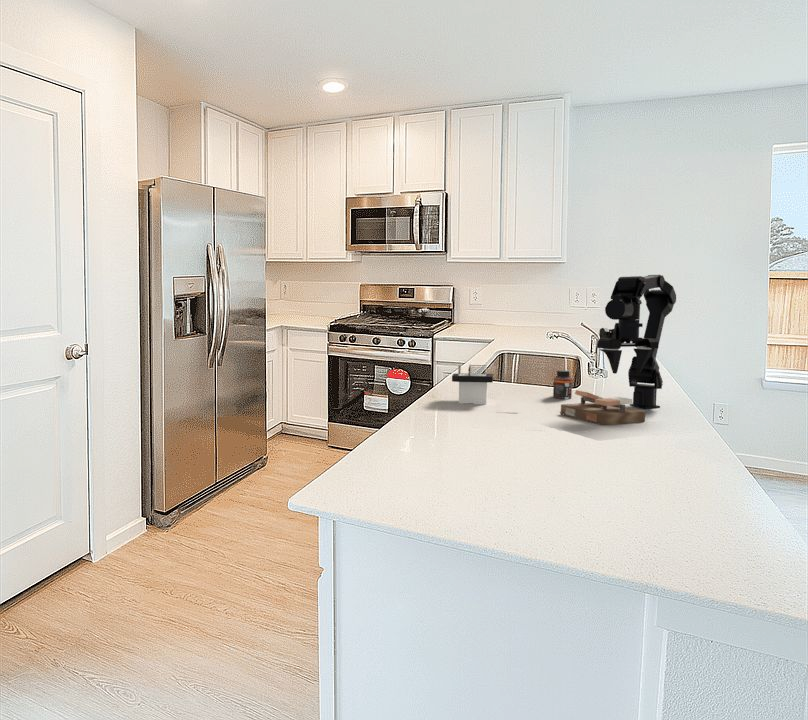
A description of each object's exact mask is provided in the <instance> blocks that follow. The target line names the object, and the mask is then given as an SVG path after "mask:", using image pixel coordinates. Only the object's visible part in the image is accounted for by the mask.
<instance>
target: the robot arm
mask: <svg viewBox="0 0 808 720" xmlns="http://www.w3.org/2000/svg"><path fill="white" fill-rule="evenodd" d="M655 288H656V289H655ZM658 288H659V289H658ZM642 297H643V298H644V300H645V305H646V307H647V310H648V312H649V314H648V318H647V322H646V325H645V331H644V335H643V337H640V336H639V335H640V328H643V324H644V323H640V321H641V319H640V316H641V305H642V303H643V302H642V300H641V298H642ZM676 302H677V293H676V291H675V289H674V286H673V285H672V284H670V283H669V282H668V281H666V280H665V277H664V275H662V274H648V275H645V276H641V275H639V276H637V275H635V276H634V275H633V276H632V275H631V276H620V277H619V278H618V279H617V281H616V282H615V285H614V288H613V289H612V292H611V296H610V300H609V301H608V302H607V304H606V306H605V307H604V311H605V315H606V316H607V317H608V318H609V320H612V321H613V320H618V322H615V324H614V327H613V328H612V329H611V328H610V329H609V328H608V327H601V328H600V329H599V332H598V334H599V335H598V336H599V339H598V340H596V348H597V349H599V350H600V351H601V352H603V353H604V354H605V355H606V357H607V360H608V361H609V362H608V363H609V365H610V368H611V371H612V374H614V375H615V374H617V373H618V369H619V366H620V361H621V357H622V352H623V350H621V348H622V347H623V348H629V347H633V351H634V353H635V355H636V356H635V355H634V356H633V357H632V359H631V364H630V366H629V368H628V374H627V375H628V383H629V384H628V386H629V387H632V388H633V389H634V390H633V396H632V403H631V404H629V405H630V406H632V407H637V408H641V409H655V408H657V407H658V408H660V407H661V406H660V405H657V391H658V389H659V390H662V388H663V383H664V382H663V378H662V375H661V372H660V366H659V364H658V361H657V354H658V350H659V345H660V341H661V336H662V332H663V327H664V323H665V319H666V317H667V316H668V315H669V314H670V313H671V312H672V311H673V308H674V306H675V305H676Z"/></svg>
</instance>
